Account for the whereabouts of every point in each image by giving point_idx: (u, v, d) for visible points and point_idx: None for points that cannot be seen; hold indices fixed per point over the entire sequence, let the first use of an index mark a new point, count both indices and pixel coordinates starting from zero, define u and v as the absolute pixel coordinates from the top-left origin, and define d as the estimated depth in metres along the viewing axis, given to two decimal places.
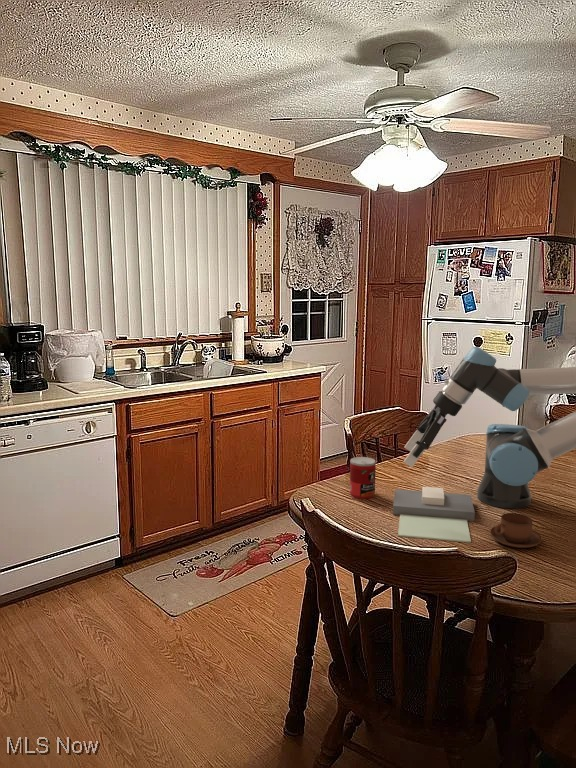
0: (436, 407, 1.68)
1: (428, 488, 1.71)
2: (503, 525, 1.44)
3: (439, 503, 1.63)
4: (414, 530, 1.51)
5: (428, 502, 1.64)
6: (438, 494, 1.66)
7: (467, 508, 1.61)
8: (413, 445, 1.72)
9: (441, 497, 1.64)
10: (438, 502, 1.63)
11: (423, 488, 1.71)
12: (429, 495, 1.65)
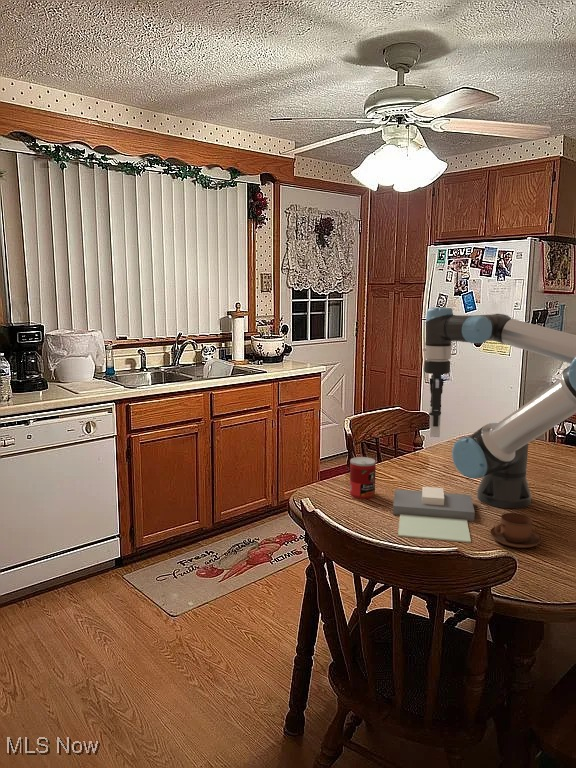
0: (433, 377, 1.79)
1: (428, 488, 1.71)
2: (503, 525, 1.44)
3: (439, 503, 1.63)
4: (414, 530, 1.51)
5: (428, 502, 1.64)
6: (438, 494, 1.66)
7: (467, 508, 1.61)
8: None
9: (441, 497, 1.64)
10: (438, 502, 1.63)
11: (423, 488, 1.71)
12: (429, 495, 1.65)
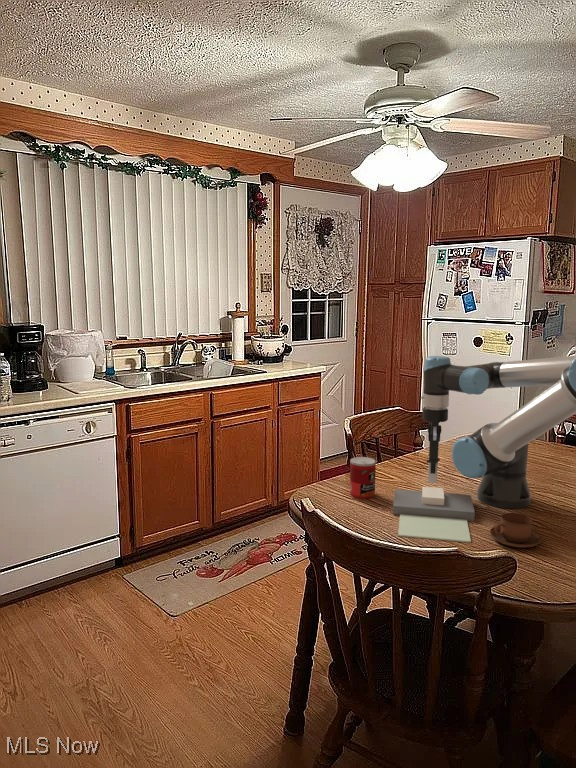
0: None
1: (428, 488, 1.71)
2: (503, 525, 1.44)
3: (439, 503, 1.63)
4: (414, 530, 1.51)
5: (428, 502, 1.64)
6: (438, 494, 1.66)
7: (467, 508, 1.61)
8: None
9: (441, 497, 1.64)
10: (438, 502, 1.63)
11: (423, 488, 1.71)
12: (429, 495, 1.65)
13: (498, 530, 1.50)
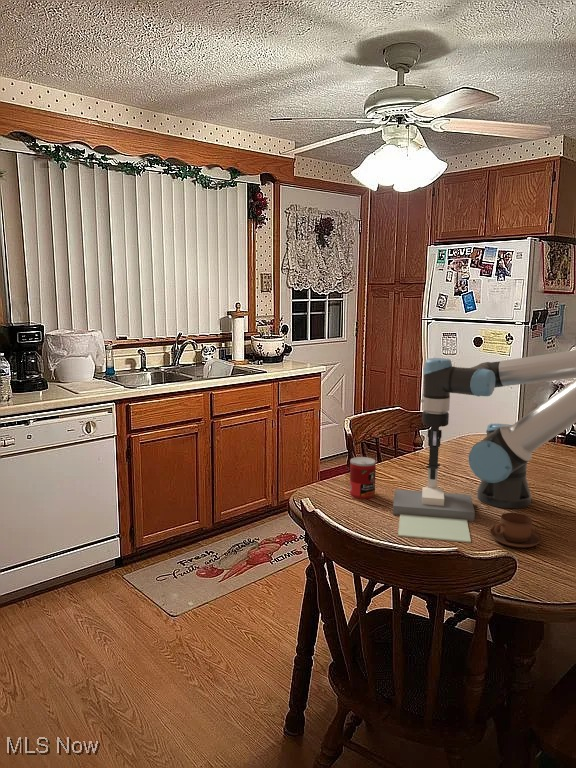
0: None
1: (428, 488, 1.71)
2: (503, 525, 1.44)
3: (439, 503, 1.63)
4: (414, 530, 1.51)
5: (428, 502, 1.64)
6: (438, 494, 1.66)
7: (467, 508, 1.61)
8: None
9: (441, 497, 1.64)
10: (438, 502, 1.63)
11: (423, 488, 1.71)
12: (429, 495, 1.65)
13: (498, 530, 1.50)
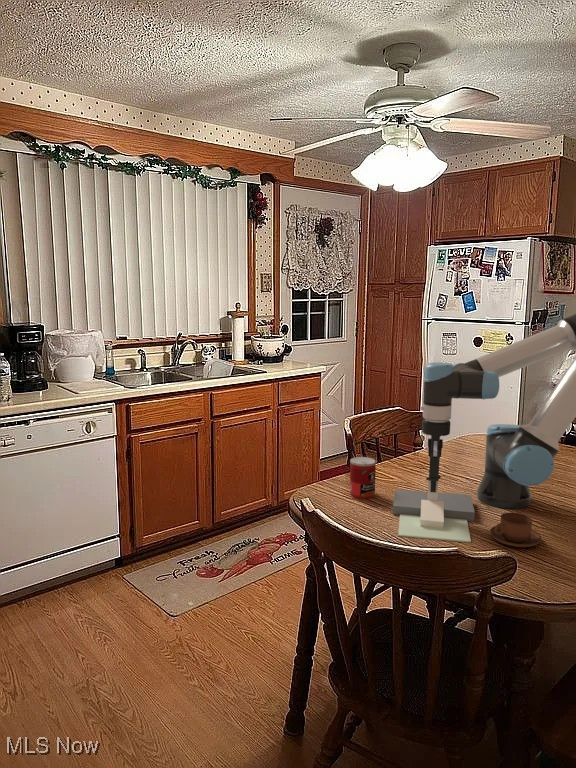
0: None
1: (427, 503, 1.60)
2: (503, 525, 1.44)
3: (438, 526, 1.53)
4: (414, 530, 1.51)
5: (426, 524, 1.54)
6: (438, 513, 1.55)
7: (467, 508, 1.61)
8: None
9: (440, 519, 1.53)
10: (437, 524, 1.53)
11: (422, 503, 1.60)
12: (428, 516, 1.55)
13: (498, 530, 1.50)
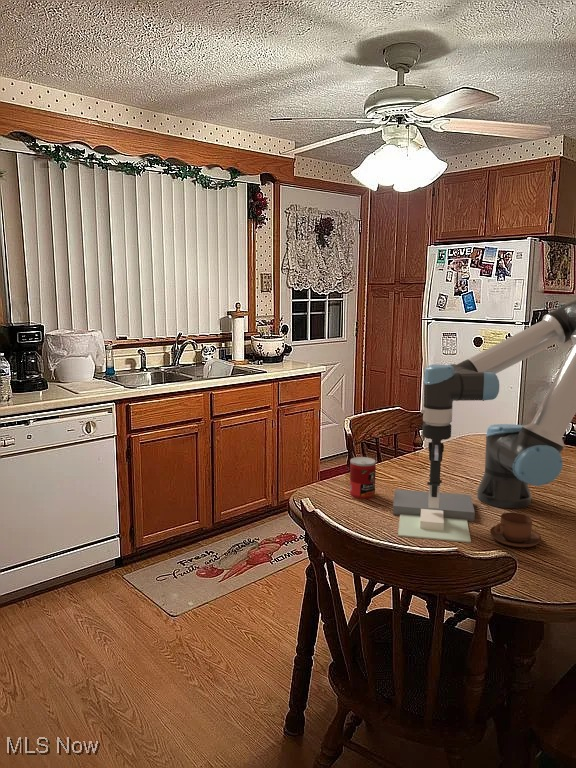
0: None
1: (427, 511, 1.59)
2: (503, 524, 1.44)
3: (438, 528, 1.52)
4: (414, 530, 1.51)
5: (426, 527, 1.52)
6: (438, 518, 1.54)
7: (467, 508, 1.61)
8: None
9: (440, 521, 1.52)
10: (437, 526, 1.52)
11: (421, 510, 1.59)
12: (427, 519, 1.54)
13: (498, 530, 1.50)
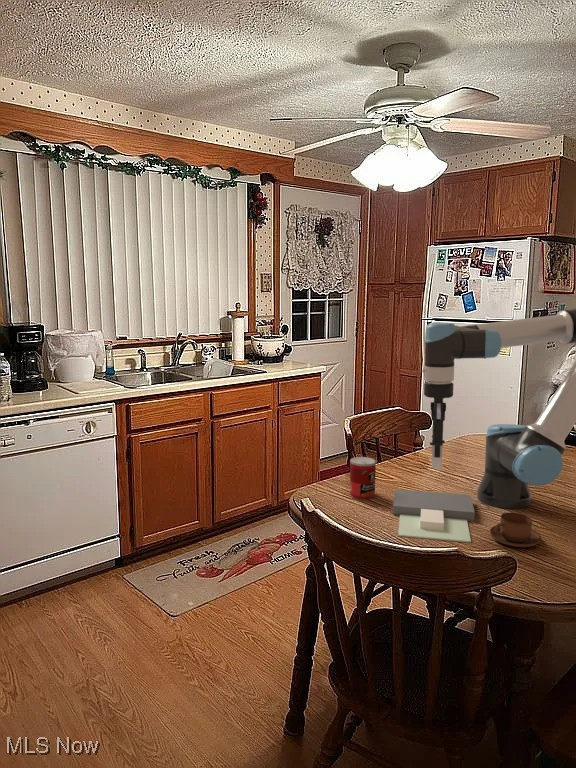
0: None
1: (427, 511, 1.59)
2: (503, 524, 1.44)
3: (438, 528, 1.52)
4: (414, 530, 1.51)
5: (426, 527, 1.52)
6: (438, 518, 1.54)
7: (467, 508, 1.61)
8: None
9: (440, 521, 1.52)
10: (437, 526, 1.52)
11: (421, 510, 1.59)
12: (427, 519, 1.54)
13: (498, 530, 1.50)
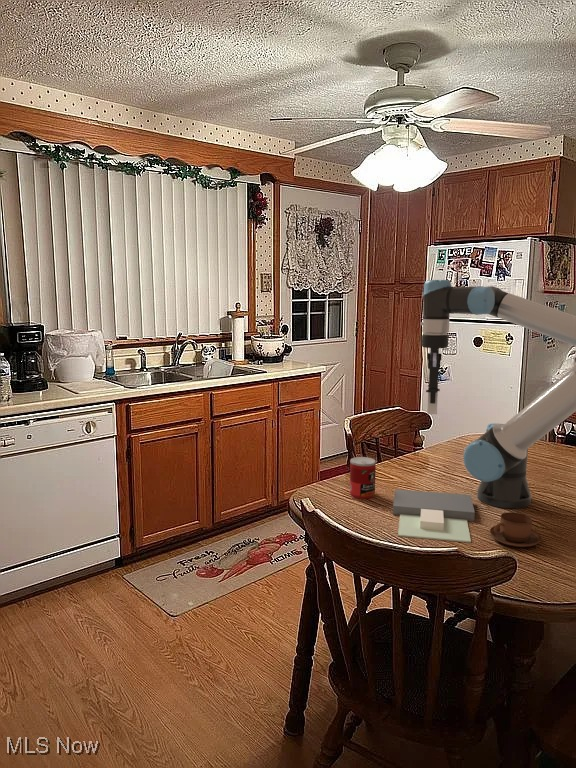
0: None
1: (427, 511, 1.59)
2: (502, 524, 1.44)
3: (438, 528, 1.52)
4: (414, 530, 1.51)
5: (426, 527, 1.52)
6: (438, 518, 1.54)
7: (467, 508, 1.61)
8: None
9: (440, 521, 1.52)
10: (437, 526, 1.52)
11: (421, 510, 1.59)
12: (427, 519, 1.54)
13: (498, 529, 1.51)
